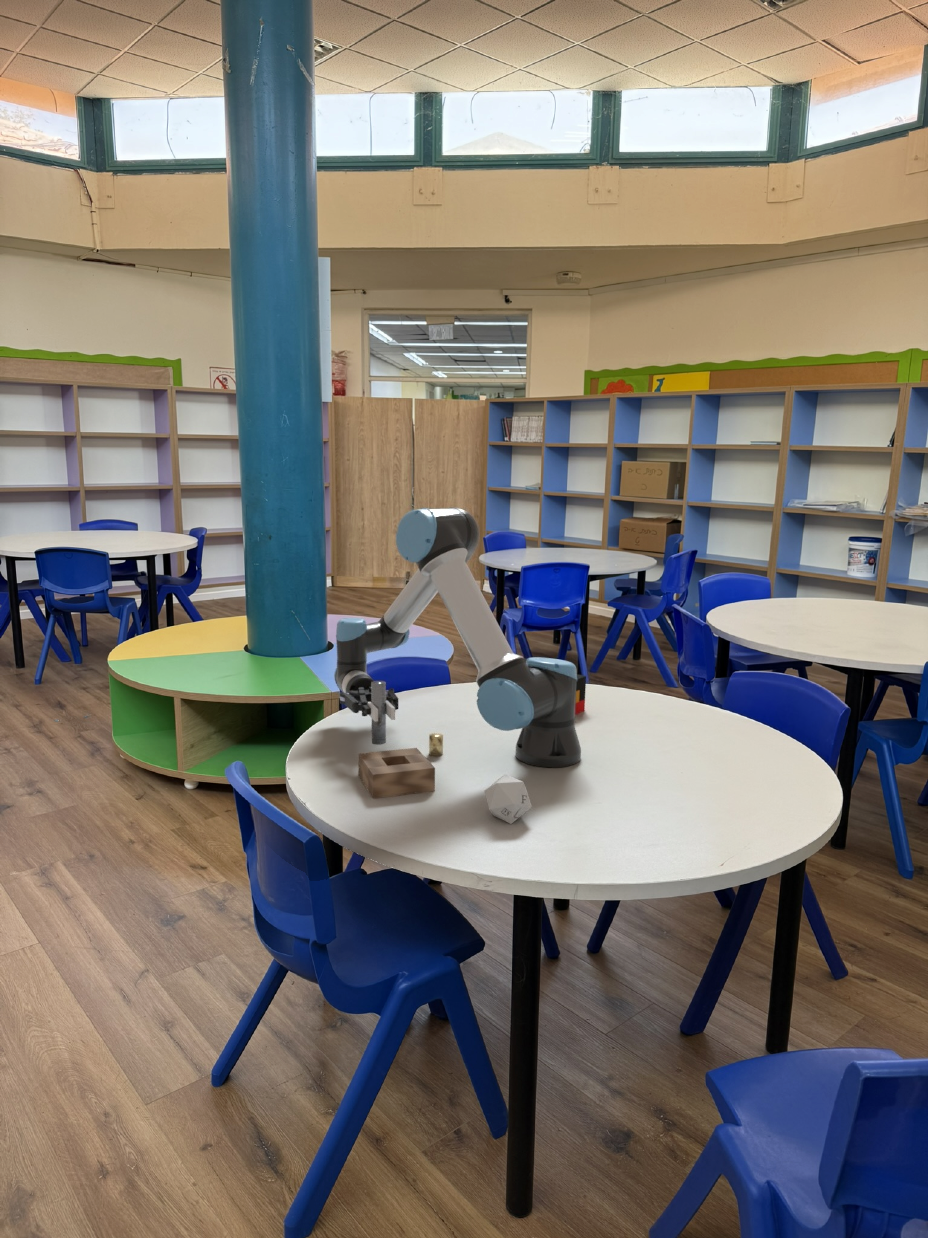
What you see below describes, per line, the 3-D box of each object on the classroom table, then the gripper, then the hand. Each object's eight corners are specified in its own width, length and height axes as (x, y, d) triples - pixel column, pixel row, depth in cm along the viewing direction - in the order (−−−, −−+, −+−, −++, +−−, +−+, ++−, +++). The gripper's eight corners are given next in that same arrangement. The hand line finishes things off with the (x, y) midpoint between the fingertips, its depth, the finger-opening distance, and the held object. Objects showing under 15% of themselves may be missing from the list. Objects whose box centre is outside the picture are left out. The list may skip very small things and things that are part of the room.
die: (487, 831, 152) (518, 797, 149) (468, 795, 158) (498, 761, 154) (516, 835, 157) (547, 802, 154) (498, 800, 163) (527, 767, 160)
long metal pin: (388, 741, 186) (388, 682, 184) (379, 745, 184) (379, 684, 181) (378, 739, 188) (377, 679, 186) (368, 743, 185) (368, 682, 183)
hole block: (416, 769, 181) (416, 747, 180) (434, 791, 169) (434, 767, 168) (358, 775, 176) (358, 753, 176) (373, 798, 164) (373, 774, 164)
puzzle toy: (566, 718, 221) (567, 682, 219) (534, 711, 227) (536, 676, 225) (584, 710, 228) (586, 675, 227) (553, 704, 234) (554, 670, 233)
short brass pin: (445, 753, 192) (445, 734, 191) (437, 757, 189) (437, 738, 188) (434, 750, 193) (434, 732, 193) (426, 754, 191) (426, 735, 190)
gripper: (392, 701, 205) (420, 727, 183) (327, 706, 199) (348, 734, 177) (392, 671, 203) (420, 695, 182) (327, 676, 198) (348, 701, 176)
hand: (384, 714), depth 179 cm, fingers closed on long metal pin, 3 cm apart
